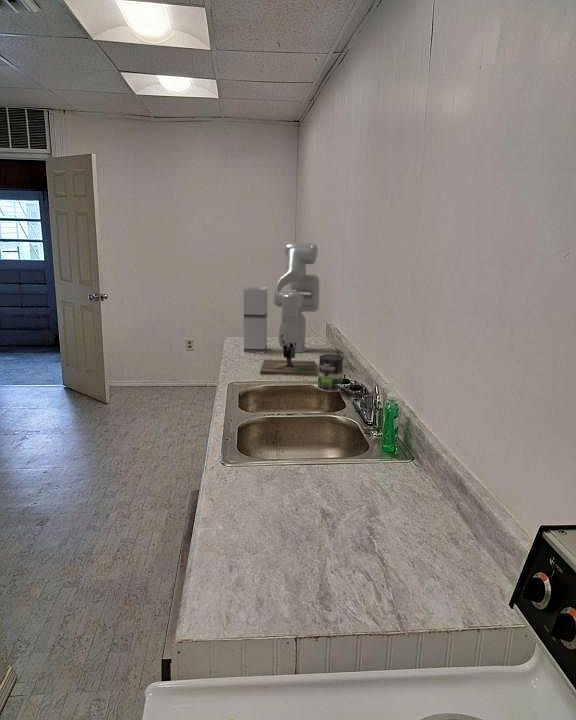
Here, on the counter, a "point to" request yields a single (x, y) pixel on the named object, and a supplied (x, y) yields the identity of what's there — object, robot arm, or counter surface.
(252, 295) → the tall grey two-section tower
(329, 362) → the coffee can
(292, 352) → the tuning peg
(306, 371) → the wooden cutting board
